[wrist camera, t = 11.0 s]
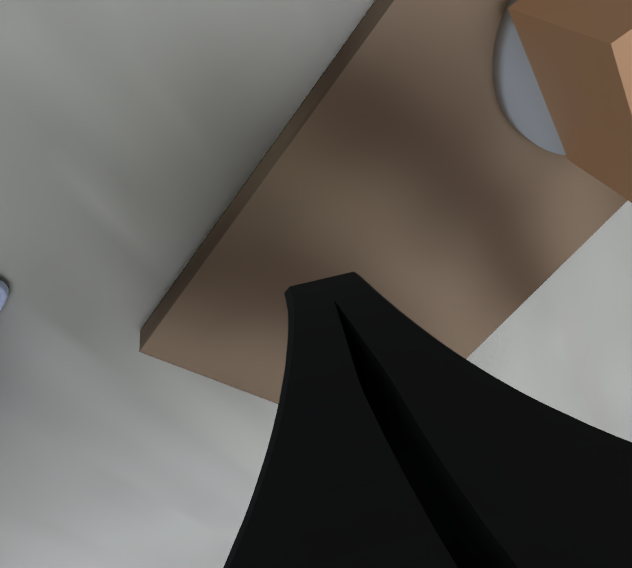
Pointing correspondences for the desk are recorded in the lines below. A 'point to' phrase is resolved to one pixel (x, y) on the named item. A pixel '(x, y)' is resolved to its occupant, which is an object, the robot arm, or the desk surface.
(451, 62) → the hub board
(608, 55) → the collar
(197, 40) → the desk surface
